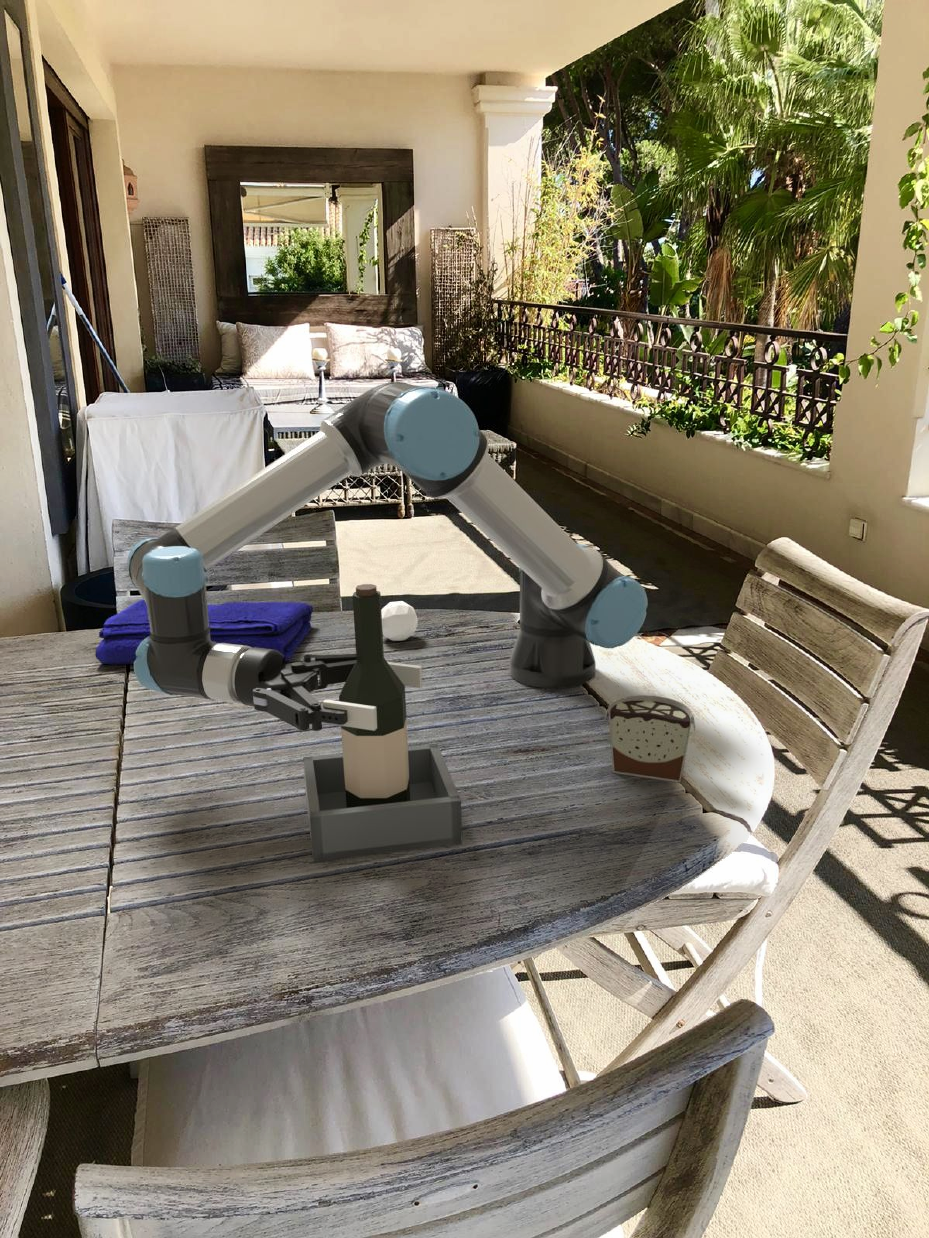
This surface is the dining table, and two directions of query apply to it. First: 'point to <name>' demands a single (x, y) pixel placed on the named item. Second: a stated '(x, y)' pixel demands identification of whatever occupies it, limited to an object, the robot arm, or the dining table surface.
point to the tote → (382, 810)
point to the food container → (649, 736)
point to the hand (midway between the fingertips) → (399, 696)
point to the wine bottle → (380, 754)
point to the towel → (213, 628)
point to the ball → (398, 621)
